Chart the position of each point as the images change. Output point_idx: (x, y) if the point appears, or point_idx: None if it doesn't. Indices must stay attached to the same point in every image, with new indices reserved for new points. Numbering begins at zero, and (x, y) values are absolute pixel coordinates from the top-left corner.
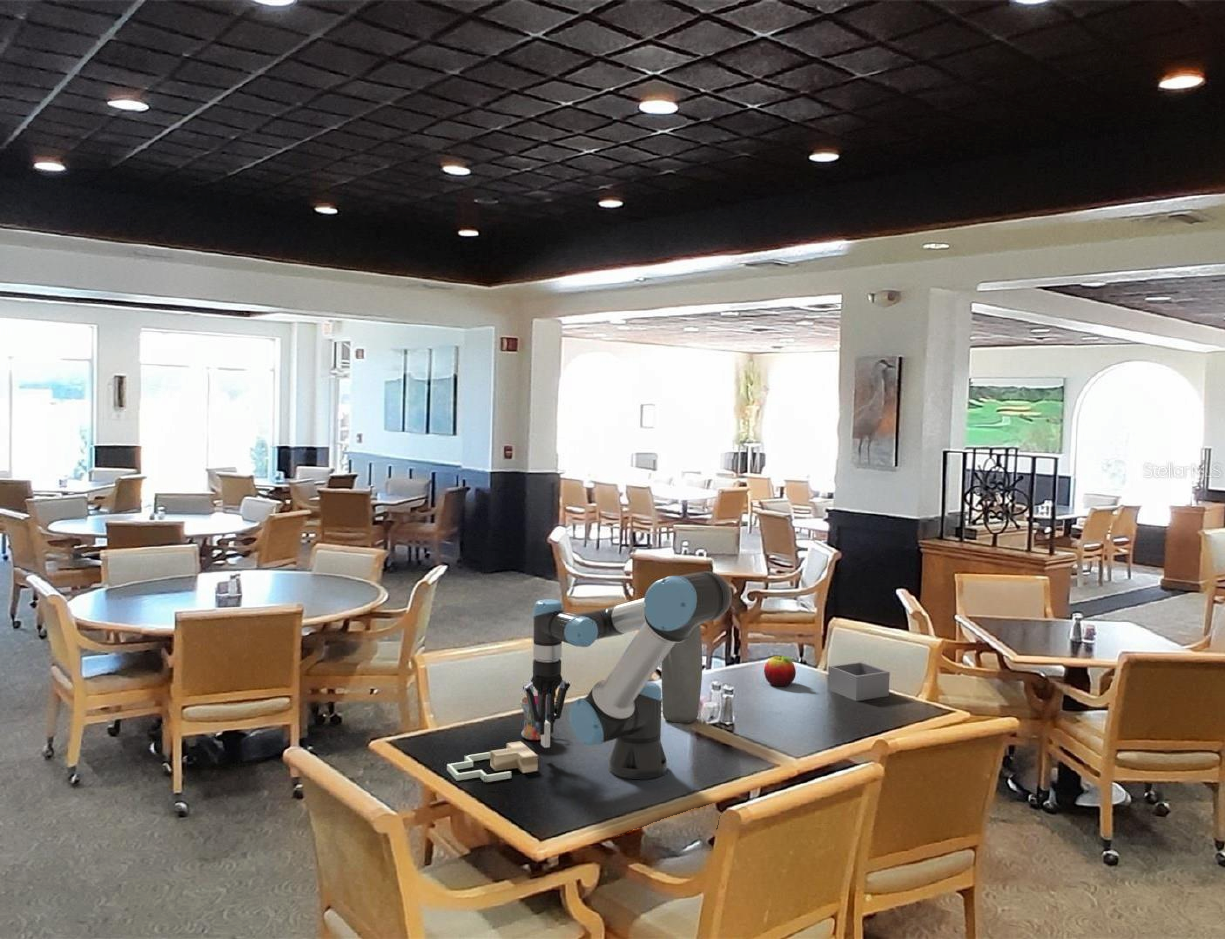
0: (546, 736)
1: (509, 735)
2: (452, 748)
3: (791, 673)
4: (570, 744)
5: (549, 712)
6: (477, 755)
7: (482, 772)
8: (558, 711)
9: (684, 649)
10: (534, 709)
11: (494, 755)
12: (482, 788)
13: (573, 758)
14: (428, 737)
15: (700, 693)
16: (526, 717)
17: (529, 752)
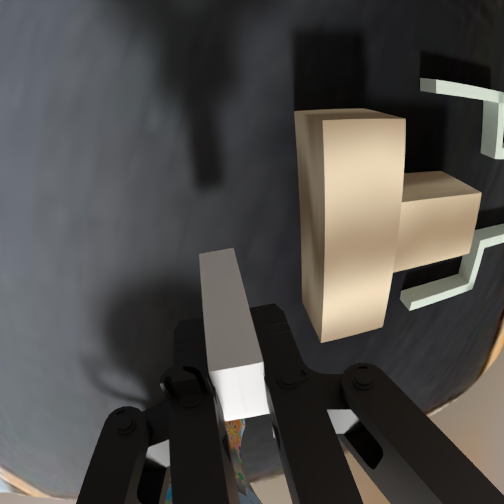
0: (231, 290)
1: (269, 429)
2: (430, 362)
3: None
4: (88, 361)
5: (226, 470)
6: (446, 290)
7: (501, 132)
8: (122, 474)
9: None
10: (440, 458)
11: (476, 207)
12: (501, 52)
13: (80, 227)
14: (425, 406)
15: None
16: (243, 472)
17: (348, 189)
